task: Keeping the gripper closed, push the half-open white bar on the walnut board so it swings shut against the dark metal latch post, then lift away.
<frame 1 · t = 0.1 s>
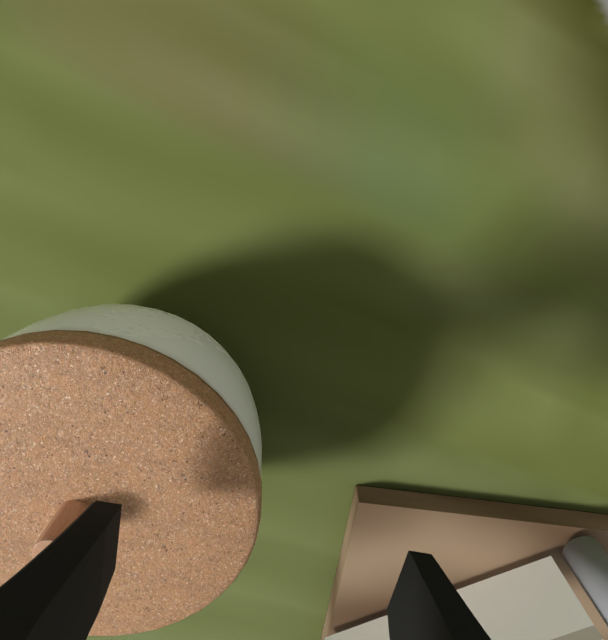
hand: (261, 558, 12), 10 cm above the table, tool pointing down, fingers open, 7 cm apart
gate board: (463, 611, 26), on the table
lidded jar: (155, 384, 21), on the table
white bar: (472, 638, 21), point 4 cm above the table, hinge at -55.0°
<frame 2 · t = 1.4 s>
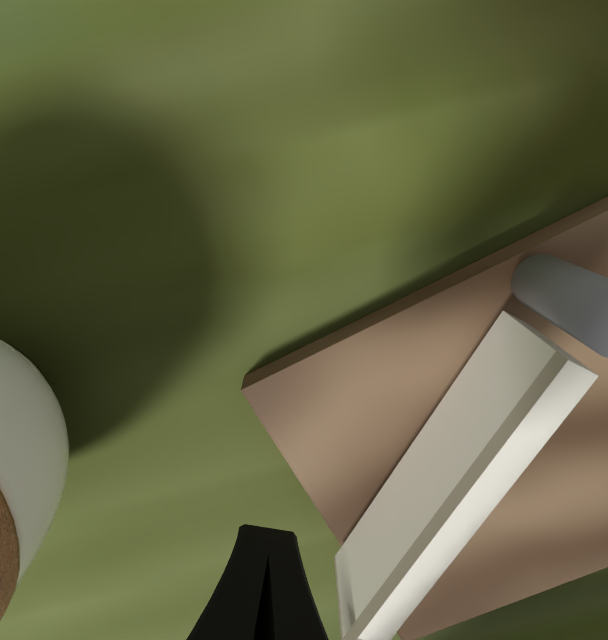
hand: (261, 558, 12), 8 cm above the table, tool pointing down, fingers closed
gate board: (489, 441, 20), on the table
white bar: (455, 462, 15), point 4 cm above the table, hinge at -55.0°
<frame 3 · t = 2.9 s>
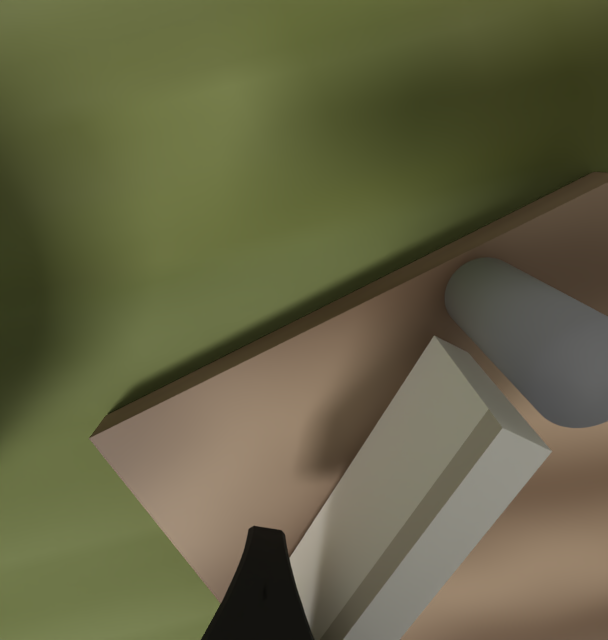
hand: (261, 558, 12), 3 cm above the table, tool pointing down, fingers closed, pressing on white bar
gate board: (432, 498, 15), on the table
white bar: (364, 550, 11), point 4 cm above the table, hinge at -54.9°, touching gripper
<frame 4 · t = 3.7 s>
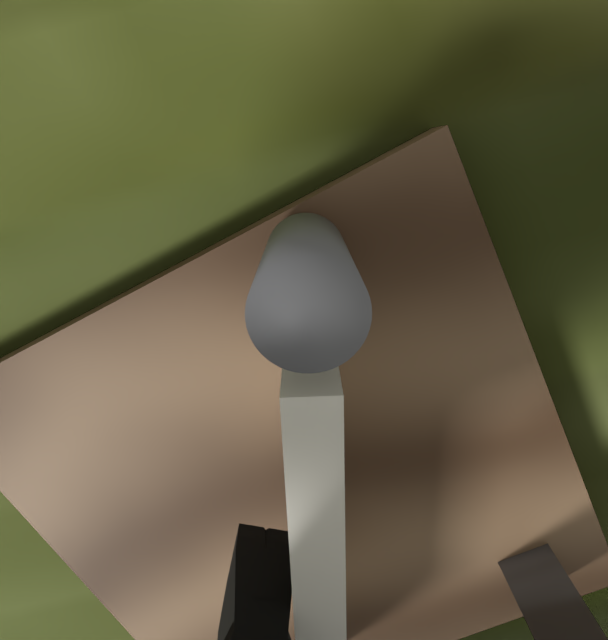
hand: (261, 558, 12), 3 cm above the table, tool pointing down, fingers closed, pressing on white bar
gate board: (301, 473, 15), on the table
white bar: (316, 541, 11), point 4 cm above the table, hinge at -25.0°, touching gripper
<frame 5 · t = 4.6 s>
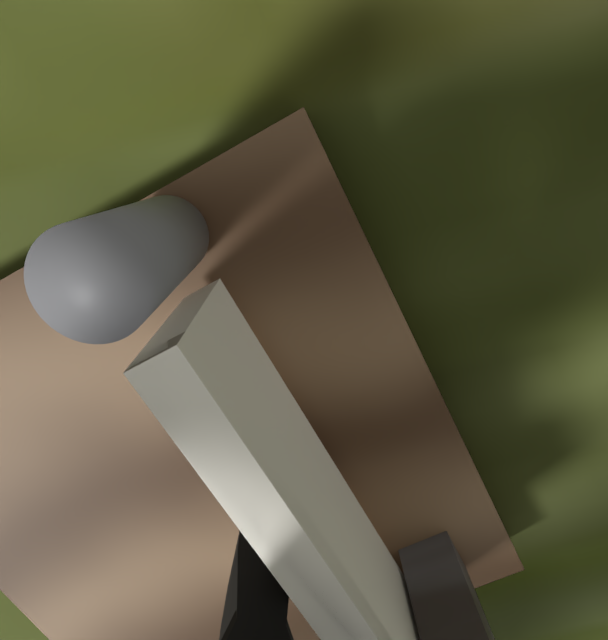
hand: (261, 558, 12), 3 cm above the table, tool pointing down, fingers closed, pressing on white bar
gate board: (202, 462, 15), on the table
white bar: (300, 497, 11), point 4 cm above the table, hinge at 0.8°, touching gripper
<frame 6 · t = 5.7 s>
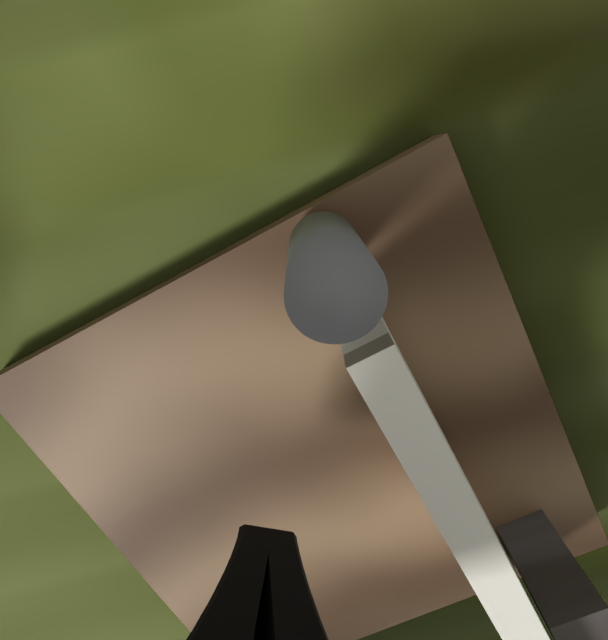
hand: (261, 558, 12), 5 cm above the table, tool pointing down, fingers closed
gate board: (316, 449, 16), on the table
white bar: (442, 476, 12), point 4 cm above the table, hinge at 0.9°
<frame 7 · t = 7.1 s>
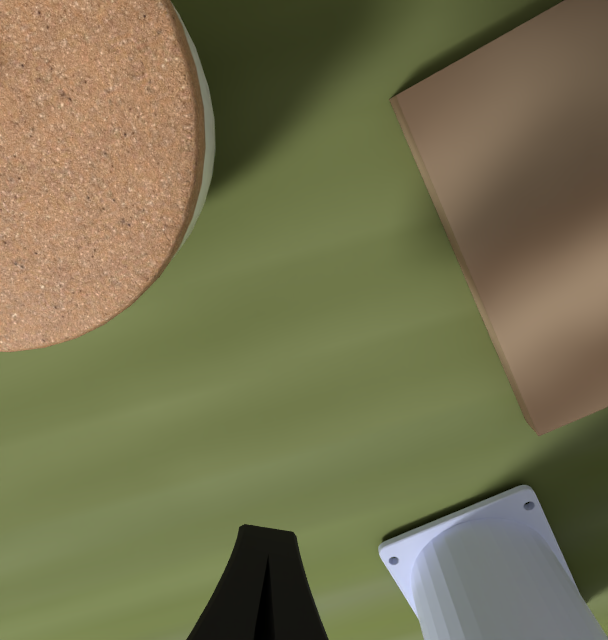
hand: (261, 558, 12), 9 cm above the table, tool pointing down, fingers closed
lidded jar: (95, 134, 17), on the table
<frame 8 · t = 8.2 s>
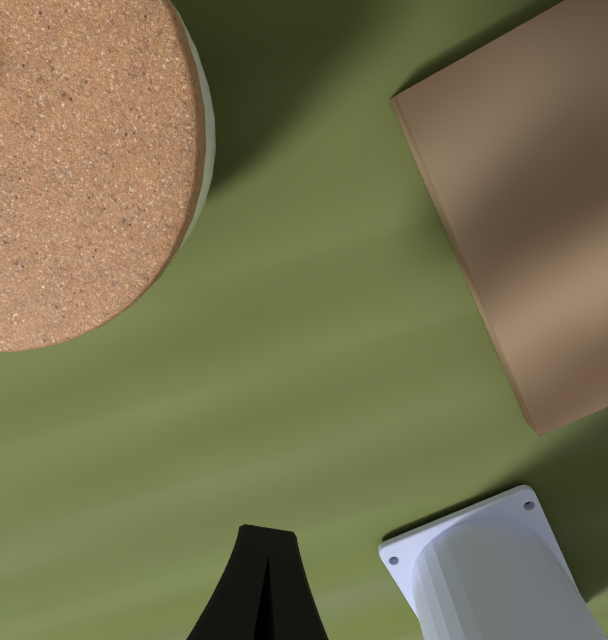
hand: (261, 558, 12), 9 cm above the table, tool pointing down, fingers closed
lidded jar: (95, 134, 17), on the table
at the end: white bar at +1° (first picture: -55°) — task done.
